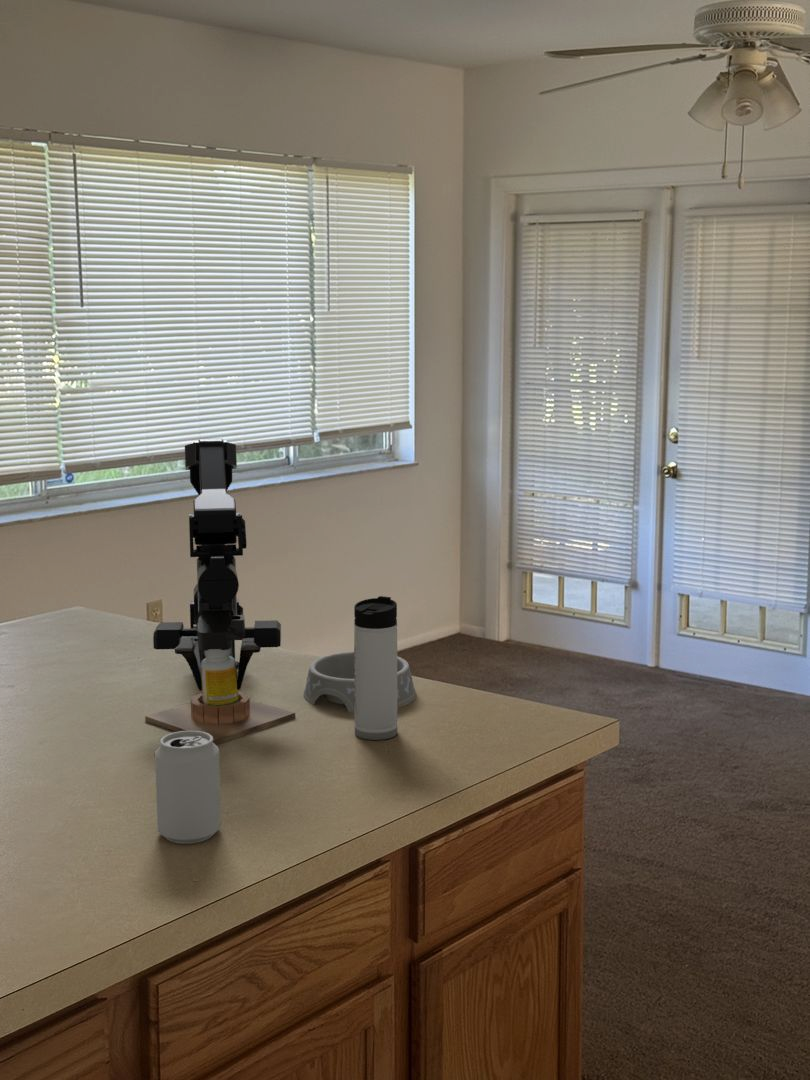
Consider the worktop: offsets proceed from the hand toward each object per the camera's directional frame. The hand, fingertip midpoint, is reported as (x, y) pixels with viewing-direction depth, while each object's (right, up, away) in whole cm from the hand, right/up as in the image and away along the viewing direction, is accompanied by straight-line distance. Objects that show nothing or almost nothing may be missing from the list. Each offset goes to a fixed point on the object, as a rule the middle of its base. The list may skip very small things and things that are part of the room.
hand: (219, 689), depth 190 cm
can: (+2, -13, -40) cm, 42 cm away
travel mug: (+24, -6, -5) cm, 25 cm away
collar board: (0, -5, +1) cm, 5 cm away
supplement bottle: (0, -3, 0) cm, 3 cm away
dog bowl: (+21, -3, +13) cm, 25 cm away
